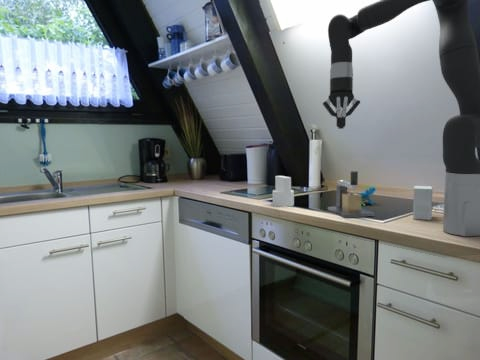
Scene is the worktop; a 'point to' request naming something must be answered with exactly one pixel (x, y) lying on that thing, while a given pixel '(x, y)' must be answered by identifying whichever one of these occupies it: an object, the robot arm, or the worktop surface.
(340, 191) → the press
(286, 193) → the base with upright slab
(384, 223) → the worktop surface
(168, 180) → the worktop surface
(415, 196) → the small box
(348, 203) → the housing
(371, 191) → the blue plastic figure
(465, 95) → the robot arm
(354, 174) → the lever
